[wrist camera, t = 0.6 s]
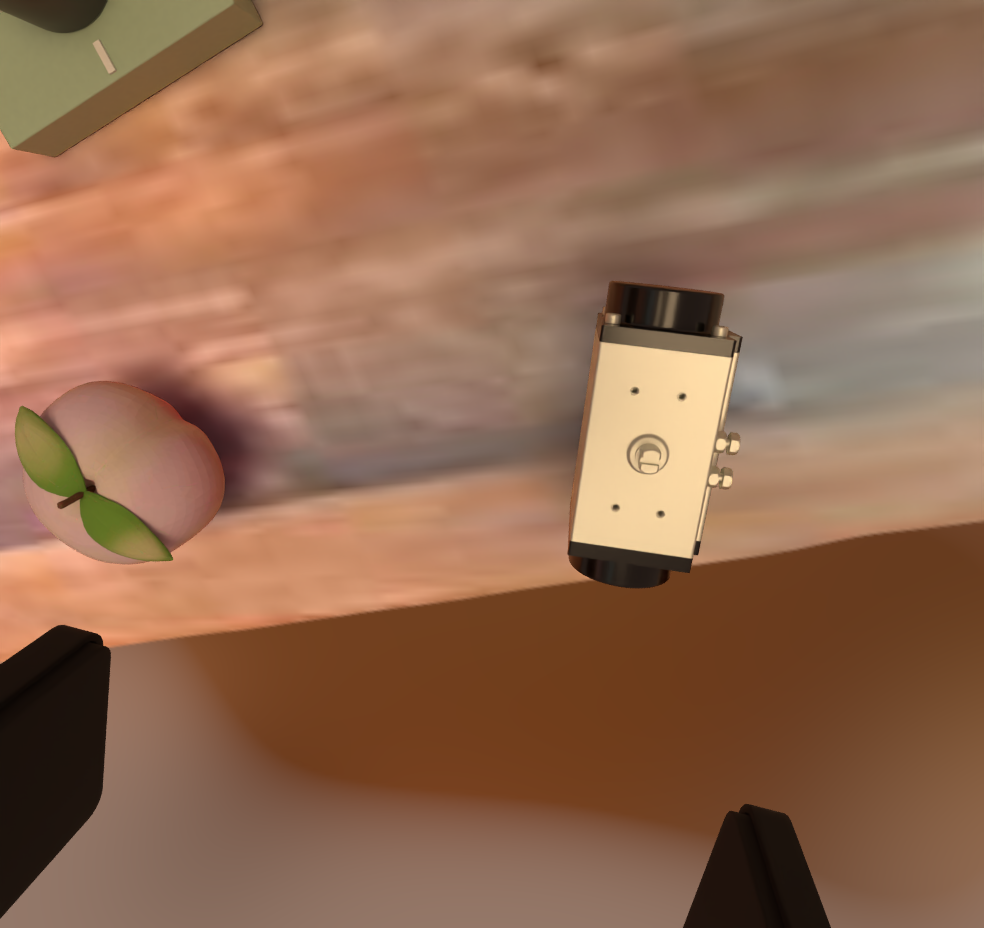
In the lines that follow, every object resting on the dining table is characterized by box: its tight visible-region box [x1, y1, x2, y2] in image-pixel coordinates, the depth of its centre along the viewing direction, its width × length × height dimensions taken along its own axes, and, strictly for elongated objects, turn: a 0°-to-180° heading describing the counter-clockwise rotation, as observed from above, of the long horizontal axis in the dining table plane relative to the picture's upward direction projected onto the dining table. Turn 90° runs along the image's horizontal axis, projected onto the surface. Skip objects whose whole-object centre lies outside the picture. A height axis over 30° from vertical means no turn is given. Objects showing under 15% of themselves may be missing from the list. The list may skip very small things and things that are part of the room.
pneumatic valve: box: [568, 281, 743, 588], centre depth 31 cm, size 6×12×12 cm, turn 174°
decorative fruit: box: [15, 381, 225, 564], centre depth 36 cm, size 9×8×10 cm
